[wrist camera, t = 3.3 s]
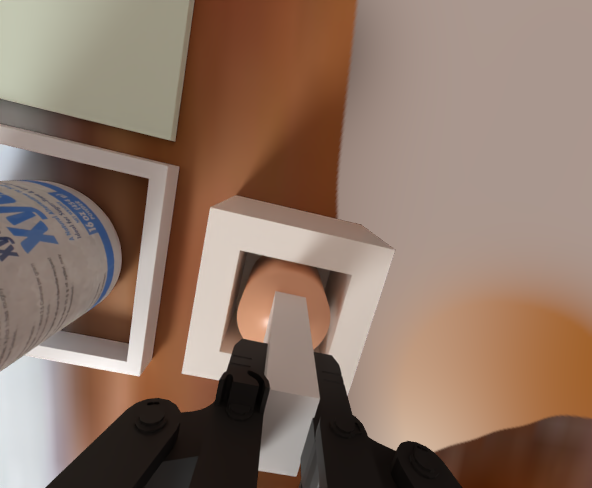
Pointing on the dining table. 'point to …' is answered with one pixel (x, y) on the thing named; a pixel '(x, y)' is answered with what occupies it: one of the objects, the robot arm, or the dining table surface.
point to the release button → (283, 279)
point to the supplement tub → (50, 262)
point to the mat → (98, 59)
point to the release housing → (291, 247)
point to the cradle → (151, 260)
